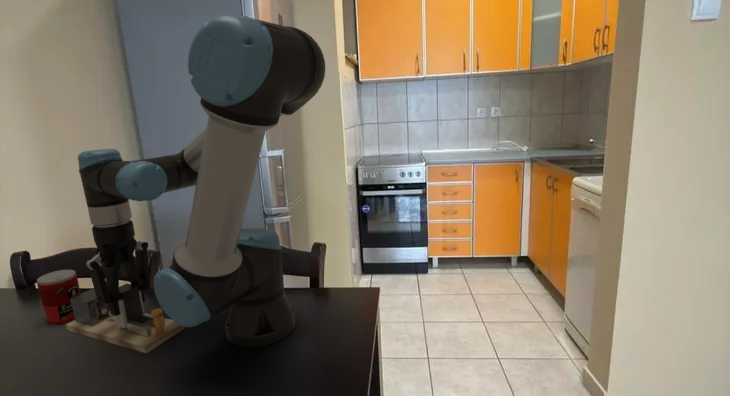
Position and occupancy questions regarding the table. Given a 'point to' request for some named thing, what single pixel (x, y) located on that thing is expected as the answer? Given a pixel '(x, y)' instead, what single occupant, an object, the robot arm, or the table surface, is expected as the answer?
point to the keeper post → (158, 320)
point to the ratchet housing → (87, 307)
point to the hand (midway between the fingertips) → (131, 321)
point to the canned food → (58, 295)
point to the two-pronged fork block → (133, 311)
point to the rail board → (125, 333)
